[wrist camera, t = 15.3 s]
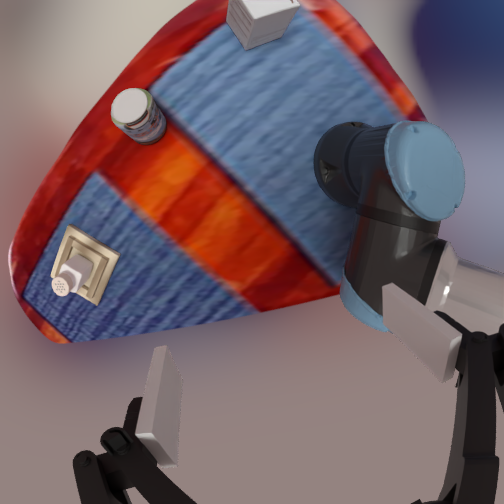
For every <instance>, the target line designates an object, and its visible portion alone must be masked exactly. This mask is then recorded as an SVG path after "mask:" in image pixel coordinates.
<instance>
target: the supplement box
mask: <svg viewBox="0 0 504 504" xmlns="http://www.w3.org/2000/svg"><path fill="white" fill-rule="evenodd" d="M299 7H300V4H299V3H298V2H297V0H229V4H228V11H227V19H226V22H227V23H228V24H229V26H230V27H231V29H232V30H233V32H234V33H235V35H236V37H237V38H238V40H239V41H240V43H241V44H242V46H243V47H244V49H245V50H249V49H251V48H254V47H257V46H259V45H262V44H264V43H267V42H270V41H272V40H275V39H278V38H281V37H282V35H283V33H284V32H285V30H286V28H287V27H288V25H289V23H290V22H291V20H292V18H293V17H294V15H295V13H296V12H297V10H298V9H299Z"/></svg>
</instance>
